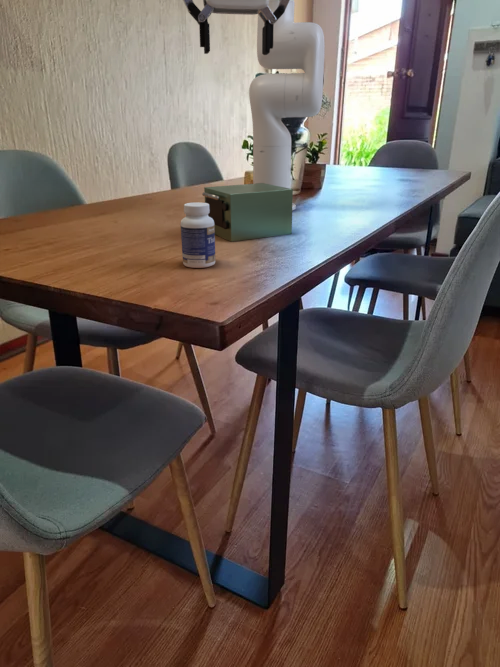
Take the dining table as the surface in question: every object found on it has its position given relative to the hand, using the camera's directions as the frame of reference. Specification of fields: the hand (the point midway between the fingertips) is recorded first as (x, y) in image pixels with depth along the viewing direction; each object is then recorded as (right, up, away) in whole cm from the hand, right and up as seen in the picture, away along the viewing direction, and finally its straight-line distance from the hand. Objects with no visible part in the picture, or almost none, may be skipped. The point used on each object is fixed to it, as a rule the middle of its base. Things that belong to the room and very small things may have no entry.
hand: (236, 53), depth 82 cm
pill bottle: (-6, -34, +2) cm, 35 cm away
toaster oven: (+2, -24, +24) cm, 34 cm away
